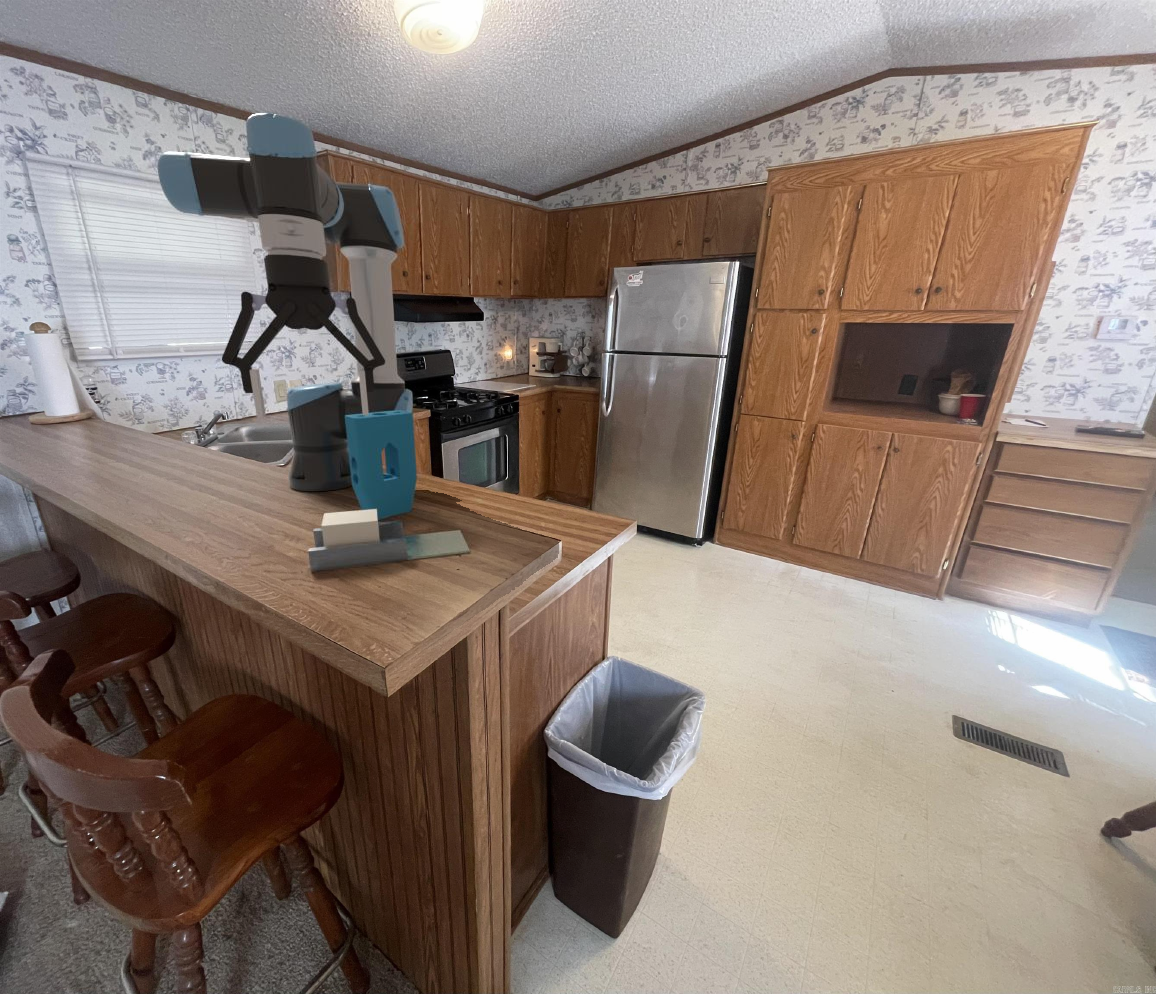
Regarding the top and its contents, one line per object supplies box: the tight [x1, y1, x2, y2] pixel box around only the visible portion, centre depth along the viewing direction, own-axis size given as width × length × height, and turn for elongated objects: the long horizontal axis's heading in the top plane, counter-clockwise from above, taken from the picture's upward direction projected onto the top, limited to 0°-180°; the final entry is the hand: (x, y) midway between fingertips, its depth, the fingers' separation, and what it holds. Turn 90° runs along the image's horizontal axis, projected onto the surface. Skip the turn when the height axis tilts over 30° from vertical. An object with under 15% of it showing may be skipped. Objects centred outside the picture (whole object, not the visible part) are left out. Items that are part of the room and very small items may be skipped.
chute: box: [307, 520, 471, 573], centre depth 85 cm, size 10×24×3 cm, turn 112°
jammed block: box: [321, 509, 380, 547], centre depth 82 cm, size 6×8×6 cm
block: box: [345, 410, 418, 521], centre depth 100 cm, size 12×5×20 cm, turn 141°
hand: (315, 415), depth 74 cm, fingers open, 13 cm apart
